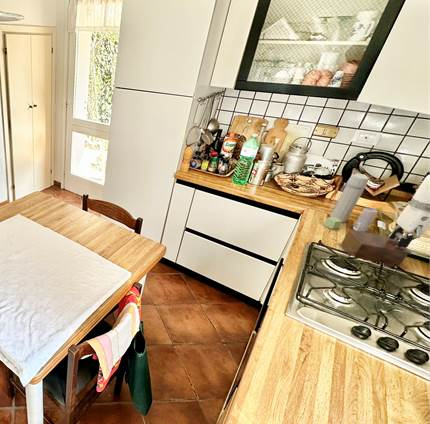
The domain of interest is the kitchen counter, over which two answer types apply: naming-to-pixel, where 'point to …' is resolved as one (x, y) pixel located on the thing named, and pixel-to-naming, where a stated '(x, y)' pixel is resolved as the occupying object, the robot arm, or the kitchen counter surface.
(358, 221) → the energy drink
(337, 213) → the water bottle
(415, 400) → the kitchen counter surface
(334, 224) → the block
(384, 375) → the kitchen counter surface
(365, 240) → the box lid
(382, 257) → the keepsake box
